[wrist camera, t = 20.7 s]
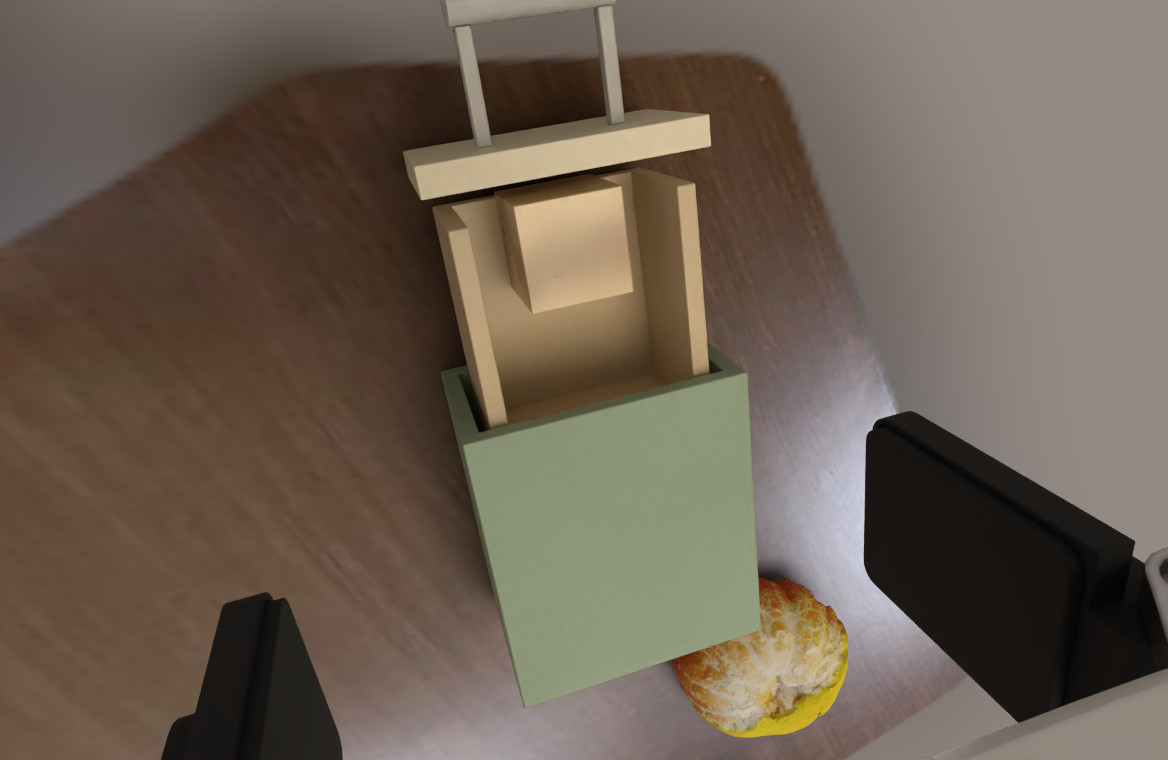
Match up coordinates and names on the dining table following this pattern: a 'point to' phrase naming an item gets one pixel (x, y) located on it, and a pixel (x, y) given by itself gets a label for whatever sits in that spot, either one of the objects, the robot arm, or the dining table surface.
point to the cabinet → (616, 527)
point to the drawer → (654, 229)
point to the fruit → (770, 667)
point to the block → (565, 241)
